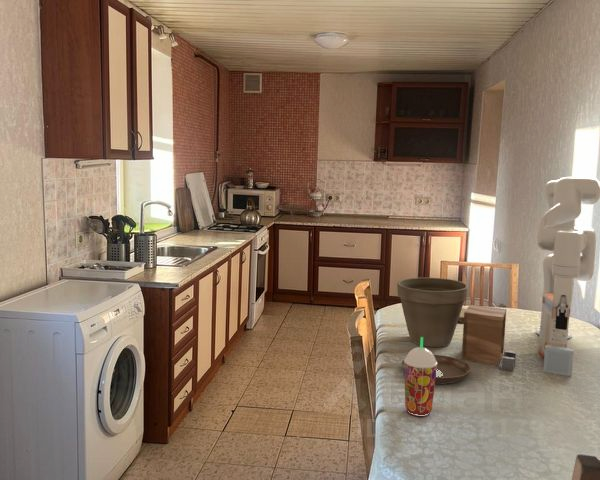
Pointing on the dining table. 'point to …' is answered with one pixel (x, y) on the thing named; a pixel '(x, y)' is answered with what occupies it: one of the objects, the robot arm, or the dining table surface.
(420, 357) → the smoothie
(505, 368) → the hinge clips
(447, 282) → the plant pot
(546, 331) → the cracker box
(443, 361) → the plant saucer
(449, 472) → the dining table surface
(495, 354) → the tan wooden box
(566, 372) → the door
